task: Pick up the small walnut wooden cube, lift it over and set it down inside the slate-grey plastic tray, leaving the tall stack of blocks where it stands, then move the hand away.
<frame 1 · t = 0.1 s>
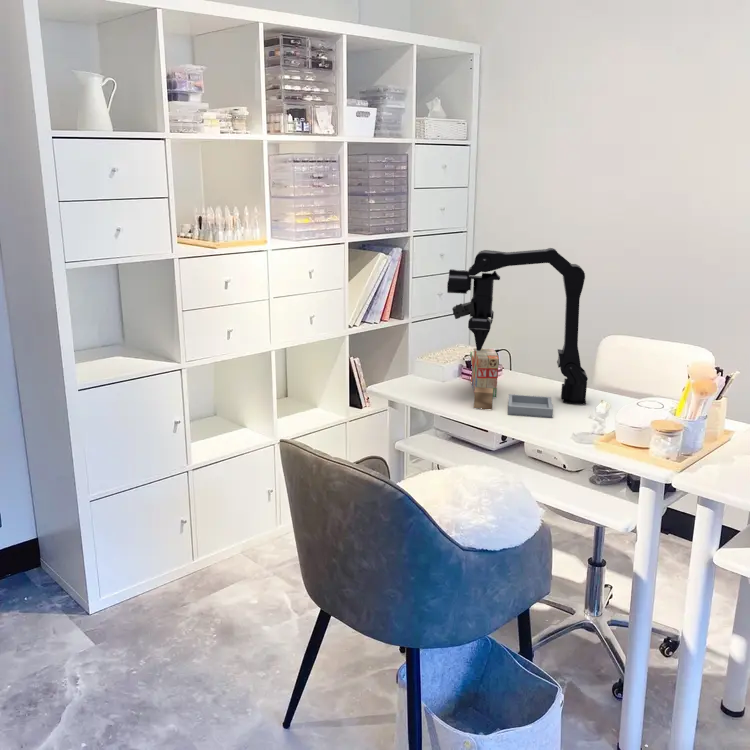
hand: (479, 347, 227), 15 cm above the table, tool pointing down, fingers open, 9 cm apart
walnut cube: (483, 407, 220), on the table
grey tray: (529, 409, 218), on the table
stack of blocks: (482, 388, 239), on the table
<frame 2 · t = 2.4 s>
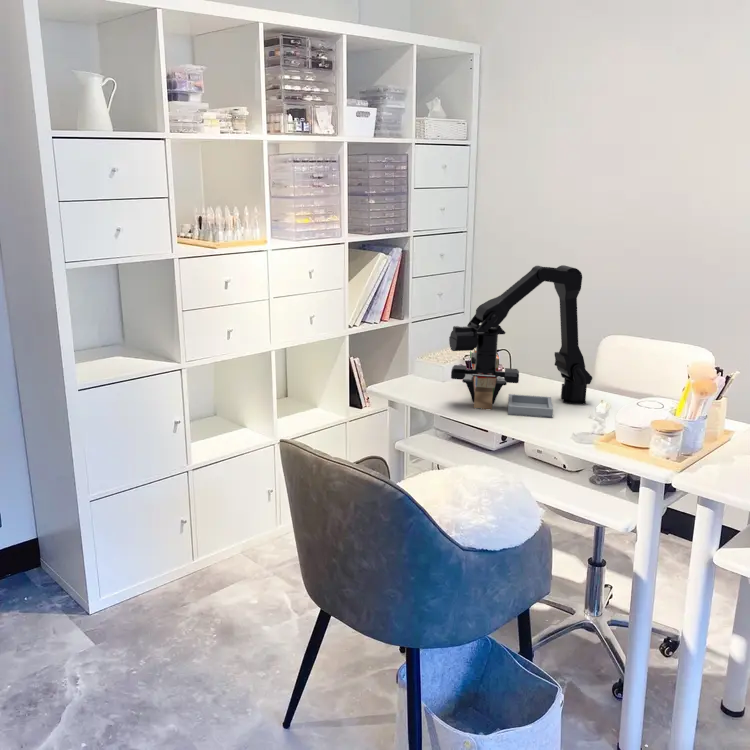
hand: (483, 403, 219), 1 cm above the table, tool pointing down, fingers closed on walnut cube, 5 cm apart
walnut cube: (483, 406, 220), on the table, touching gripper
everything else where it was.
when the fingers open (3 cm above the table, at t = 7.8 s): walnut cube drops 2 cm, resting on grey tray.
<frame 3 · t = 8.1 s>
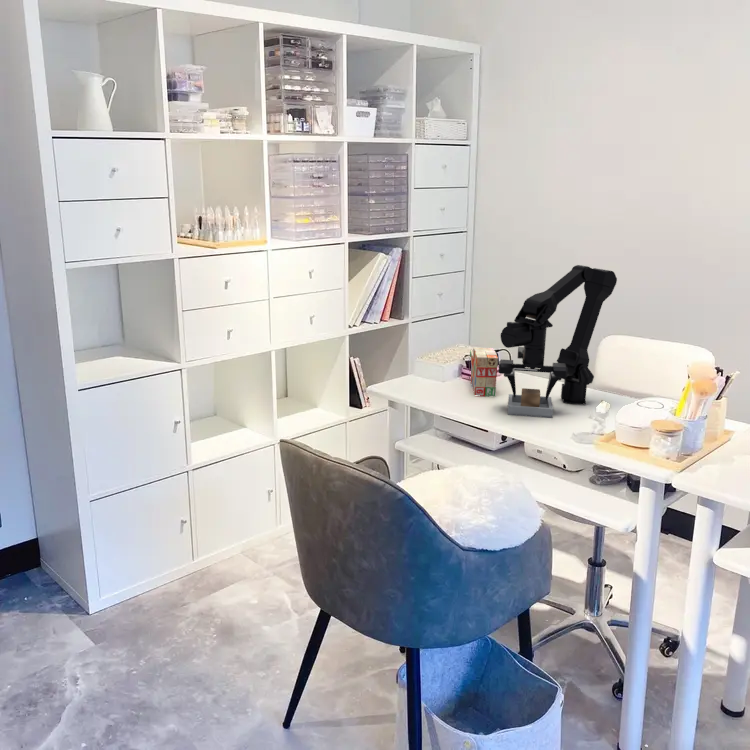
hand: (530, 398, 217), 3 cm above the table, tool pointing down, fingers open, 8 cm apart
walnut cube: (529, 408, 217), resting on grey tray
everything else where it was.
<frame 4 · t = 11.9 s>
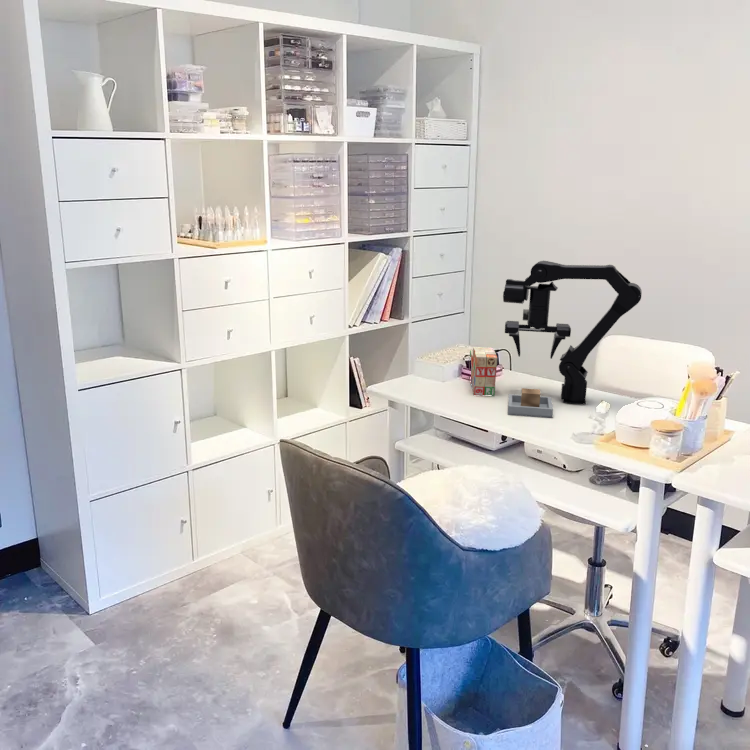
hand: (535, 357, 228), 12 cm above the table, tool pointing down, fingers open, 9 cm apart
at the end: walnut cube 0.0 cm off-centre on the grey tray, point 0.5 cm above the grey tray's base; walnut cube tilted 0°; the gripper is holding nothing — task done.
